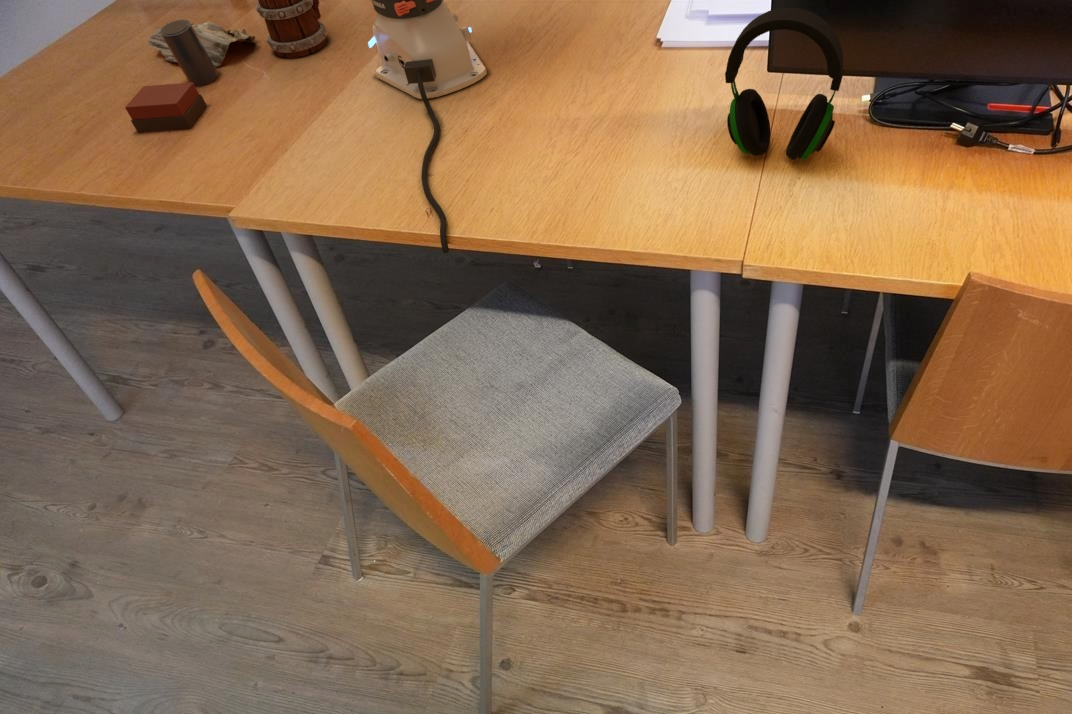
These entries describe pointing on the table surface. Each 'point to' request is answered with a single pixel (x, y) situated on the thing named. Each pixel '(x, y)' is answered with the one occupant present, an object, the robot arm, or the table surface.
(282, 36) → the mug
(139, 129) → the notebooks
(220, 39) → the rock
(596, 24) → the table surface
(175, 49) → the cup
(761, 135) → the headphones
